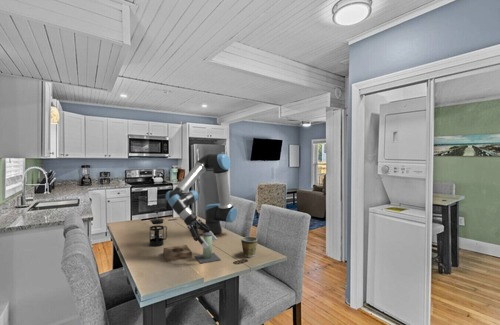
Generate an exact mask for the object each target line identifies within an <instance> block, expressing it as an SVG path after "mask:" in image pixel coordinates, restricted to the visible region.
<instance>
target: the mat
mask: <svg viewBox="0 0 500 325" xmlns="http://www.w3.org/2000/svg"><path fill="white" fill-rule="evenodd" d="M194 258H195V259H196V261H198V263H199V264H200V265H202V264H208V263H214V262H219V261H222V260H221V258H220V257H219V256H218V255H217V254H216V253H215V252H212V258H210V259H204V258H203V254H197V255H194Z"/></svg>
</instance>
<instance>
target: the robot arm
mask: <svg viewBox="0 0 500 325" xmlns="http://www.w3.org/2000/svg"><path fill="white" fill-rule="evenodd" d="M231 164H232V162H231V159H230V157H229V156H228V155H227V154H225V153H208V154H205V155H204V156H202V157H201V158H200V159H198V160H197V161H196V162H195V164H194V166H193V167H192V168H191V170H190V171H189V172H188V173H187V174H186V175H185V176H184V177H183V179H181V181H180V182H179V183H178V184H177V185H176V186H175V188H174V189H173V190H168V191H167V192H166V193H165V199H166V201H167V202H168V204H169V205H170V207H171V209H173V211H174V212H175V213H176V214H177V215H178V217H179V218H180V219H181V220H182V221H183V222H184V224H185V225H186V226H187V227H186V228H188V231H189V232H190V235H191V237H192V239H193V240H194V241H195V242H198V243H199V244H200V245H201V246H202V248H203V247H204V249H206V248H207V247H208V246H209V245H208V244H207V243H206V242H205V241H204V239H203V238H204V237H202V236H200V231H199V230H201V231H202V234H204V233H207V232H209V233H212V243H214V242H216V241H217V240H218V238H217V237H216V236H217V235H221V234H222V232H223V229H222V225H221V222H225V223H233V222H234V221H235V220H236V218H237V216H238V209H237V208H236V207H235V206H234V204H233V202H232V201H231V200H232V199H231V194H230V187H229V180H228V172H229V170H230V168H231ZM209 170H212V173H213V174H214V175H215V181H216V186H217V193H218V200H219V203H211V204H207V205H206V206H205V223H204V222H203V221H202V220H201V219H198V216H197V215H196V214H195V213H194V212H193V210H192V208H190V207H189V206H191V205H192V204H195V202H197V201H198V200H199V193H198V192H197V191H196V190H194V189H193V190H190V188H191V187H192V186H193V185H194V184H195V183H196V182H197V180H198V179H199V178H200V176H201V175H202V174H203V173H206V172H207V171H209ZM189 190H190V191H189ZM197 219H198V220H197Z"/></svg>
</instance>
